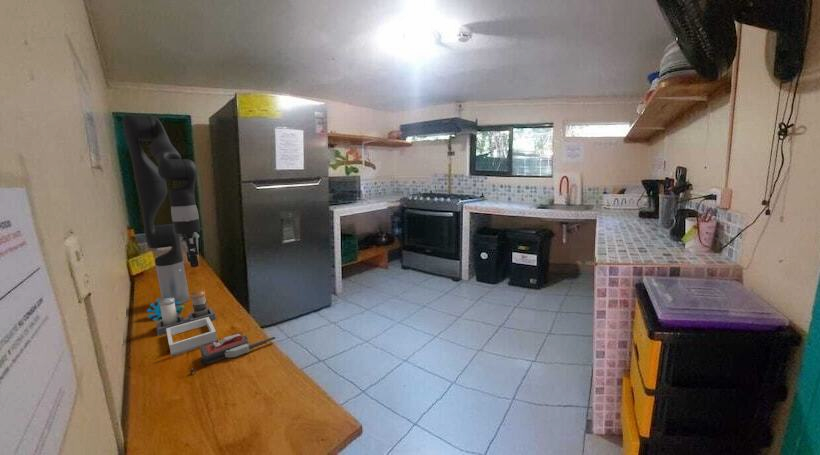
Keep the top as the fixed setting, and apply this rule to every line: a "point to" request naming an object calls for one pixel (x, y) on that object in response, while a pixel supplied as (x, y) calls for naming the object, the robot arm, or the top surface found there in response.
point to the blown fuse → (199, 303)
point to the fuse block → (183, 321)
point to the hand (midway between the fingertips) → (193, 264)
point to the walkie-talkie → (228, 348)
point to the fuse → (168, 311)
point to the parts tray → (193, 341)
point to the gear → (158, 310)
